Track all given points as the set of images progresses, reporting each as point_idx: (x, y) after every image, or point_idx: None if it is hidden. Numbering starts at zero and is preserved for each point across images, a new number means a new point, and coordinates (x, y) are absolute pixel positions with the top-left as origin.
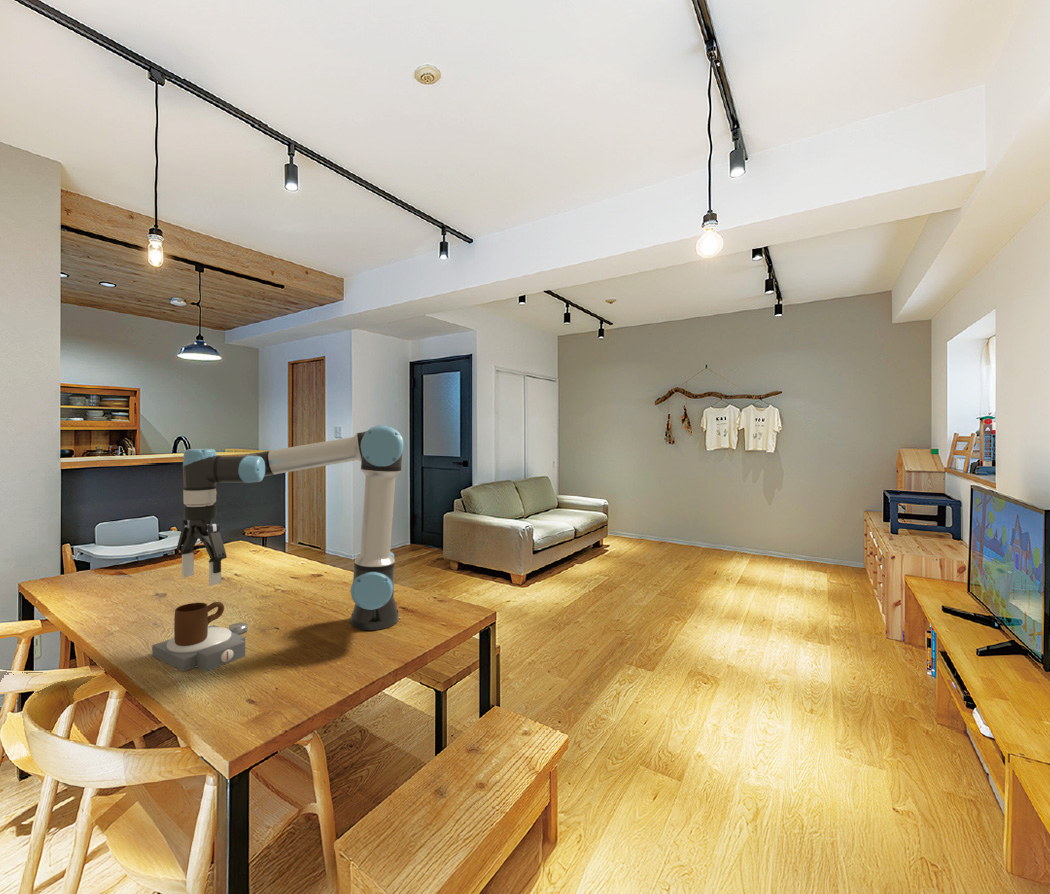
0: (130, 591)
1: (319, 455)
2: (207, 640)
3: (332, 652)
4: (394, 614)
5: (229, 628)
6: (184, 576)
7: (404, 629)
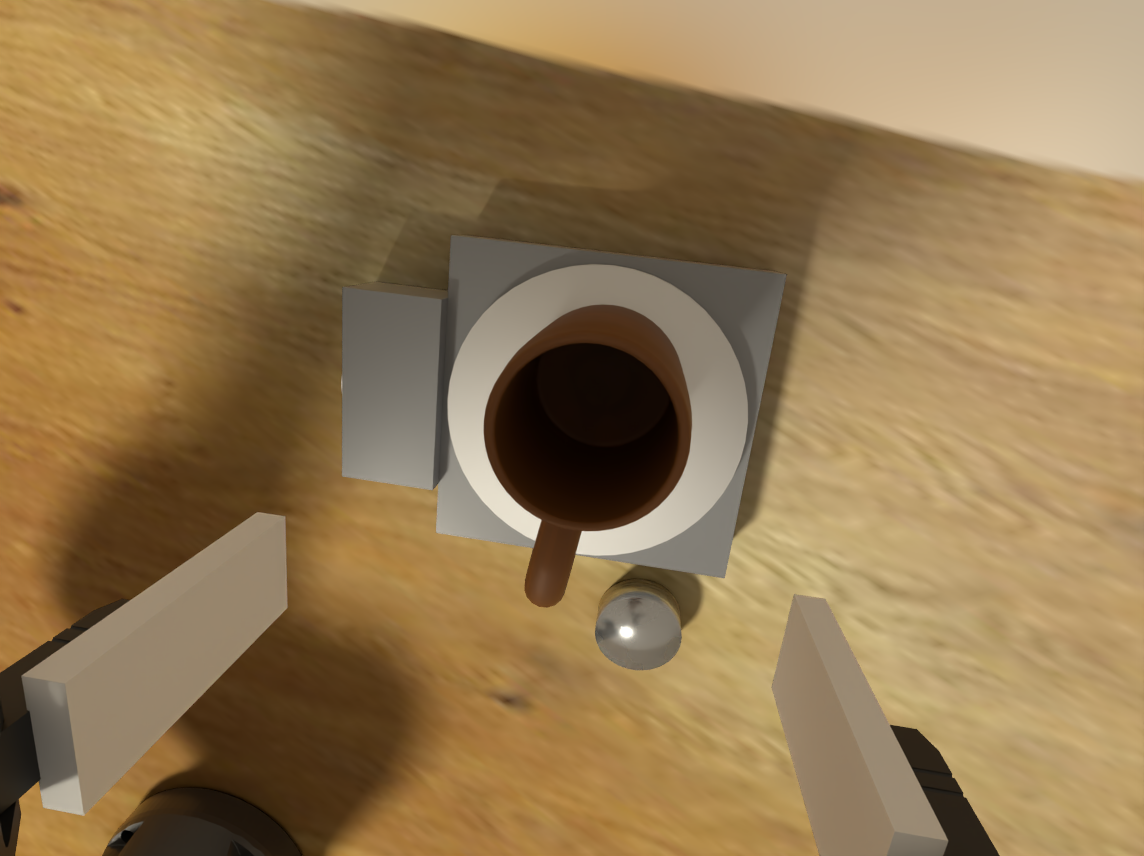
0: None
1: None
2: None
3: None
4: None
5: (649, 597)
6: (793, 609)
7: (71, 835)
